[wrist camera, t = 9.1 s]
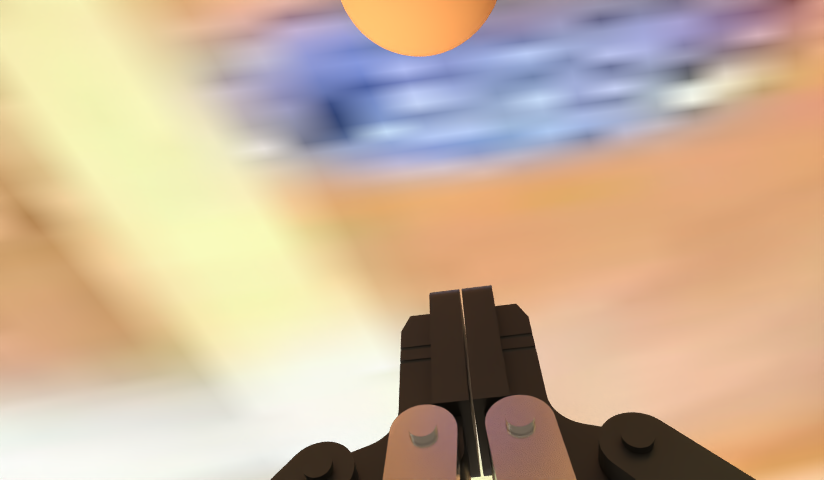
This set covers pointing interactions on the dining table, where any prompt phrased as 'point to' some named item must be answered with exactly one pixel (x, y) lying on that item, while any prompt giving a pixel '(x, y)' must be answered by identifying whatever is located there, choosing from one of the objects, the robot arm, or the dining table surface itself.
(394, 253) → the dining table surface
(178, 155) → the dining table surface
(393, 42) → the ball
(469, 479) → the robot arm
